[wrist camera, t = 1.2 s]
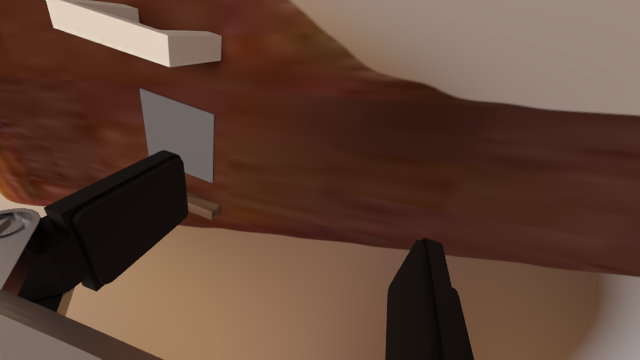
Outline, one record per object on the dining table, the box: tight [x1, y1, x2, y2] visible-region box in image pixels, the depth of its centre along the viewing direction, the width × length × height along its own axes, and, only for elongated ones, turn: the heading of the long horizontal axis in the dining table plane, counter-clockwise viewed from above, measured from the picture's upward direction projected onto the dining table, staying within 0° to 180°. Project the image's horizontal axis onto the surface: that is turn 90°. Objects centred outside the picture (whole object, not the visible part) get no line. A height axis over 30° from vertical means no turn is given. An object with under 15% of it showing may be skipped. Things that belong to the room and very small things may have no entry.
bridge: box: [46, 0, 222, 67], centre depth 30 cm, size 3×14×9 cm, turn 75°
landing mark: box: [140, 88, 215, 183], centre depth 42 cm, size 13×13×1 cm
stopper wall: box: [187, 192, 220, 220], centre depth 48 cm, size 2×16×2 cm, turn 75°
